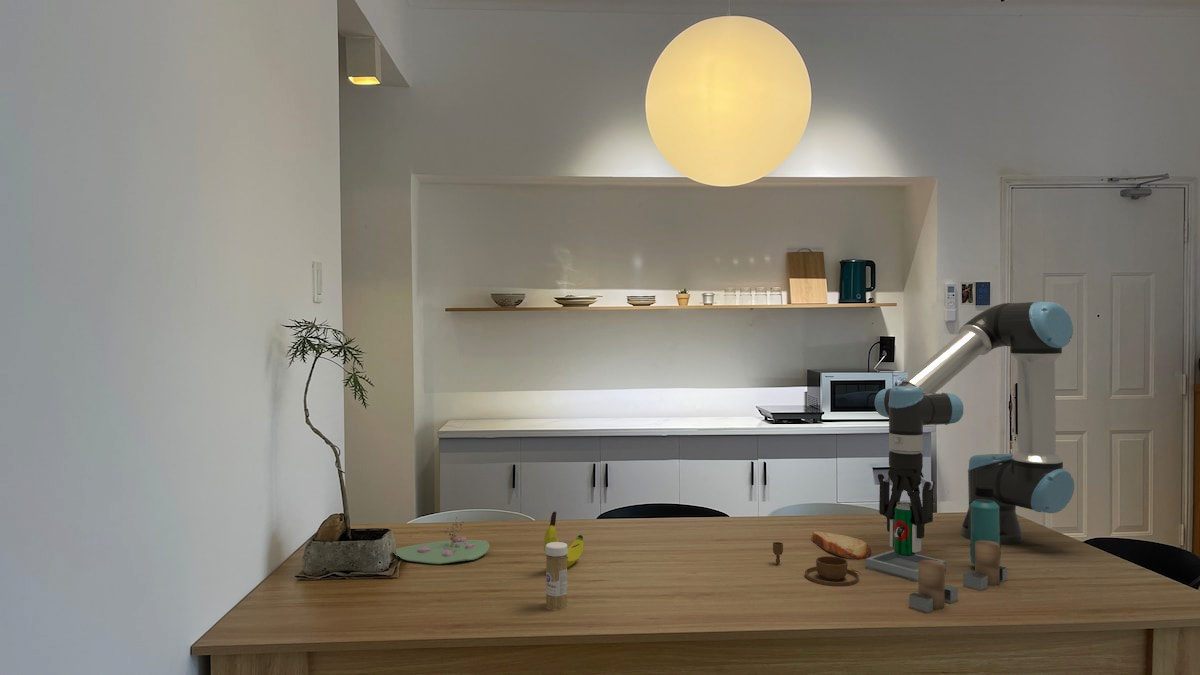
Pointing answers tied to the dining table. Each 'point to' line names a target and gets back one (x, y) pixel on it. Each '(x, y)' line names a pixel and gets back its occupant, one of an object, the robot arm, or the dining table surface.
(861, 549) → the bread slice
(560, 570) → the sprinkles bottle
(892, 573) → the tray
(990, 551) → the dowel far
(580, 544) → the banana
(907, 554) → the soda can
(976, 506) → the beverage bottle
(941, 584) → the dowel near
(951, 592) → the clip rack
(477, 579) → the dining table surface
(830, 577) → the place setting
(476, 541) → the plant
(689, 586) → the dining table surface
